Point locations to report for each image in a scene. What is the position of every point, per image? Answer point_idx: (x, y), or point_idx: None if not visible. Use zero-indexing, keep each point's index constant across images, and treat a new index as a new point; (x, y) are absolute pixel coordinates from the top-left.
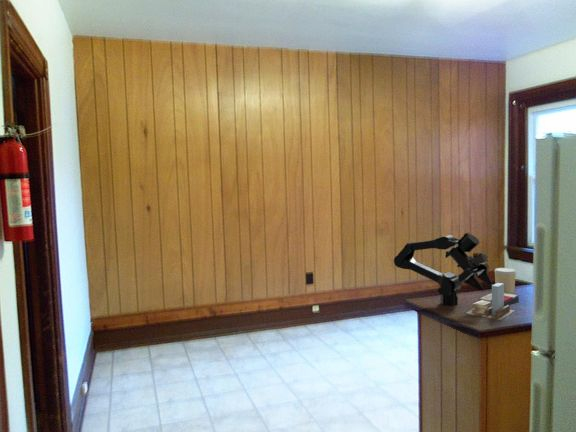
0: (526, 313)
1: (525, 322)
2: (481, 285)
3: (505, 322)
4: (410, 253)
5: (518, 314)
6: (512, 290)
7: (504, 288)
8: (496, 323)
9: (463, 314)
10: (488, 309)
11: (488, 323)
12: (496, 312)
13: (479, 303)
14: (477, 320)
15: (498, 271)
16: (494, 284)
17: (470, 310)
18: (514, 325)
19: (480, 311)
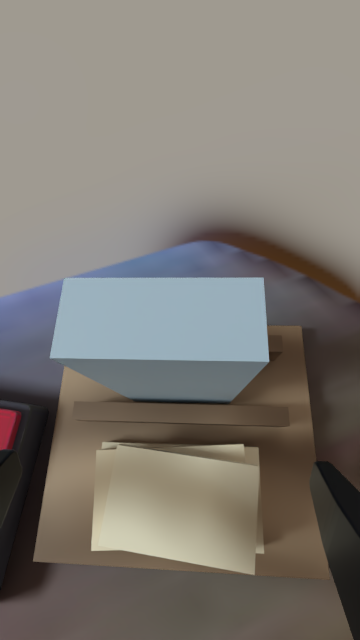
0: (52, 286)
1: (202, 246)
2: (356, 514)
3: (266, 313)
4: None
5: None
6: None
7: None
8: (317, 342)
9: (297, 602)
10: (268, 410)
11: (350, 375)
12: (281, 347)
13: (214, 517)
14: (348, 452)
15: None
16: (176, 355)
17: (237, 573)
18: (281, 266)
19: (259, 476)
